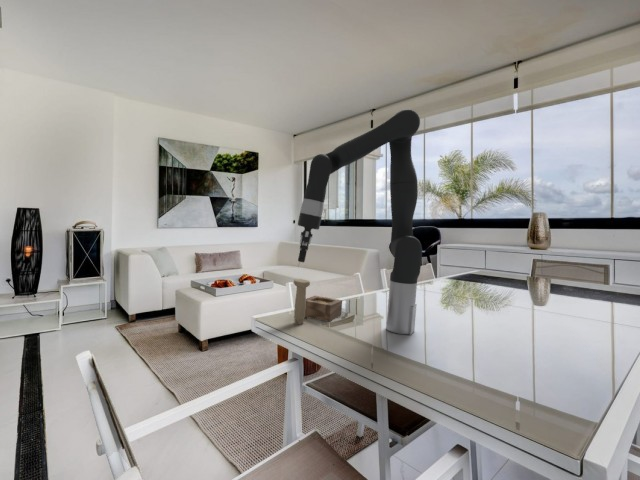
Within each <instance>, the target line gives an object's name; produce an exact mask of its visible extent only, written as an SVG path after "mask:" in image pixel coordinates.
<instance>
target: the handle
mask: <svg viewBox="0 0 640 480" xmlns="http://www.w3.org/2000/svg"><path fill="white" fill-rule="evenodd" d="M293 284H294V286H295V287H296V290H295V291H296V292H295V300H294V307H293V308H294V324H296V323H297V325H303V324H304V320H305V318H306V317H305V310H306V299H307V296H306V295H307V288H308V287H310V284H311V281H310V280H307V279H302V278H298V279H297V278H296V279H293Z"/></svg>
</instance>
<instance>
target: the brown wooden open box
mask: <svg viewBox="0 0 640 480" xmlns="http://www.w3.org/2000/svg"><path fill="white" fill-rule="evenodd" d="M316 300H321V301H326V302H331V303H322V302H317V301H316ZM342 311H343V299H336V298H332V297H326V296H325V297H324V296H320V295H313V296H310V297H308V298H307V297H306V310H305V316H307V317H306V318H309V317H310V318H311V319H314V320H319V321H325V322H332V321H333V320H336V319H337V318H340V317H341V316H342Z"/></svg>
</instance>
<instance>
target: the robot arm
mask: <svg viewBox="0 0 640 480" xmlns="http://www.w3.org/2000/svg"><path fill="white" fill-rule="evenodd" d="M420 125H421V118H420V116H419V114H418V113H417V112H416V111H415V110H412V109H406V108H405V109H401V110H400V111H398V112H396V113H395V114H394V115H393V116H391V117H390V118H389V119H387V120H386V121H385V122H382V123H381V124H380V125H378V126H376V127H374V128H372V129H371V130H369V131H367V132H365V133H363V134H360V135H358V136H356V137H353V138H352V139H350V140H348V141H346V142H344V143H342V144H340V145H338V146H336V147H335V148H334V149H333V150H332V151H331V152H328V153H326V154H323V153H321V154H320V153H319V154H317V155H315V156H314V157H313V158H312V160H311V162H310V165H309V172H308V179H307V184H306V187H305V191H304V196H303V200H302V203H301V206H300V211H299V216H298V220H297V226H299V227H303V228H304V230H303V231H301V232H300V241H299V245H300V246H299V253H298V259H297V261H298V262H299V263H305V261H306V257H307V251H309V247H310V246H311V241H312V239H313V234H312V230H317V231H318V230H319V229H320V227H321V222H322V217H323V211H324V204H325V199H326V195H327V186H328V183H329V179H330V176H331V175H332V174H334V173H335V172H337V171H338V170H340V169H341V168H343V167H346V166H348V165H351V164H352V163H354V162H357V161H358V160H360V159H362V158H364V157H366V156H368V155H369V154H370V153H372V152H374V151H375V150H377V149H379V148H380V147H382V146H384V145H386V144H388V143H389V145H388V146H389V151H390V152H389V153H390V163H389V164H390V165H389V167H390V169H389V170H390V172H389V177H390V178H389V179H390V181H389V187H390V189H389V193H390V195H389V196H390V210H391V233H390V234H391V235H390V245H389V246H390V253H391V255H392V257H394V258H393V269H392V271H391V272H390V275H389V276H390V278H389V285H388V287H389V288H388V300H387V302H388V303H387V311H386V312H387V313H386V314H387V315H386V325H385V329H386V330H387V331H389V332H391V333H393V334H394V333H395V334H399V335H411V336H412V335H413V333H414V332H415V328H416V315H417V303H416V302H417V301H416V299H417V289H418V288H417V286H418V279H419V277H420V274H421V266H422V259H423V246H422V243H421V241H420V240H419V239H418V238H417V237H415V236H414V231H413V230H414V229H413V222H414V221H413V219H414V216H415V215H414V214H415V210H416V206H417V202H418V195H419V193H418V188H419V187H418V175H417V171H416V168H415V165H414V162H413V158H412V139H413V136H414V135H415V134H416V133H417V132H418V130H419V129H420Z"/></svg>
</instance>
